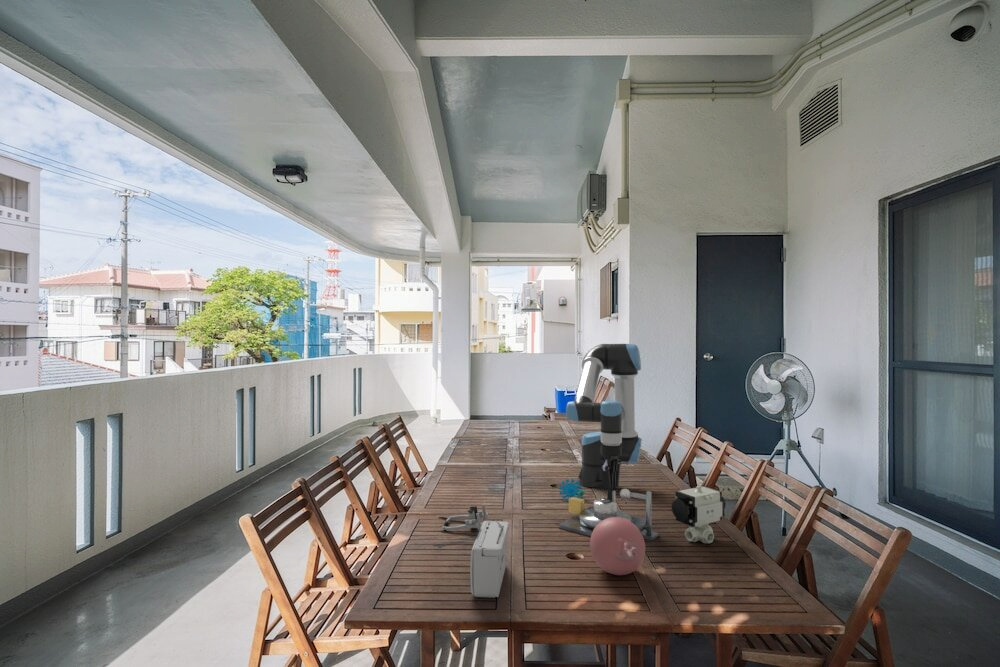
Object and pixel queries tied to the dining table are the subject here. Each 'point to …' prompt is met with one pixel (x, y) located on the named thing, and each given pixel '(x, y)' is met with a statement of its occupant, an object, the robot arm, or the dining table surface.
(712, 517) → the ball valve
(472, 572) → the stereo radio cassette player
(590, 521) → the turntable
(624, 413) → the robot arm
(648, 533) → the dial gauge
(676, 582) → the dining table surface
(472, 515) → the bike brake
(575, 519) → the turntable base
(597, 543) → the balloon
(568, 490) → the blue virus model
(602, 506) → the cover
